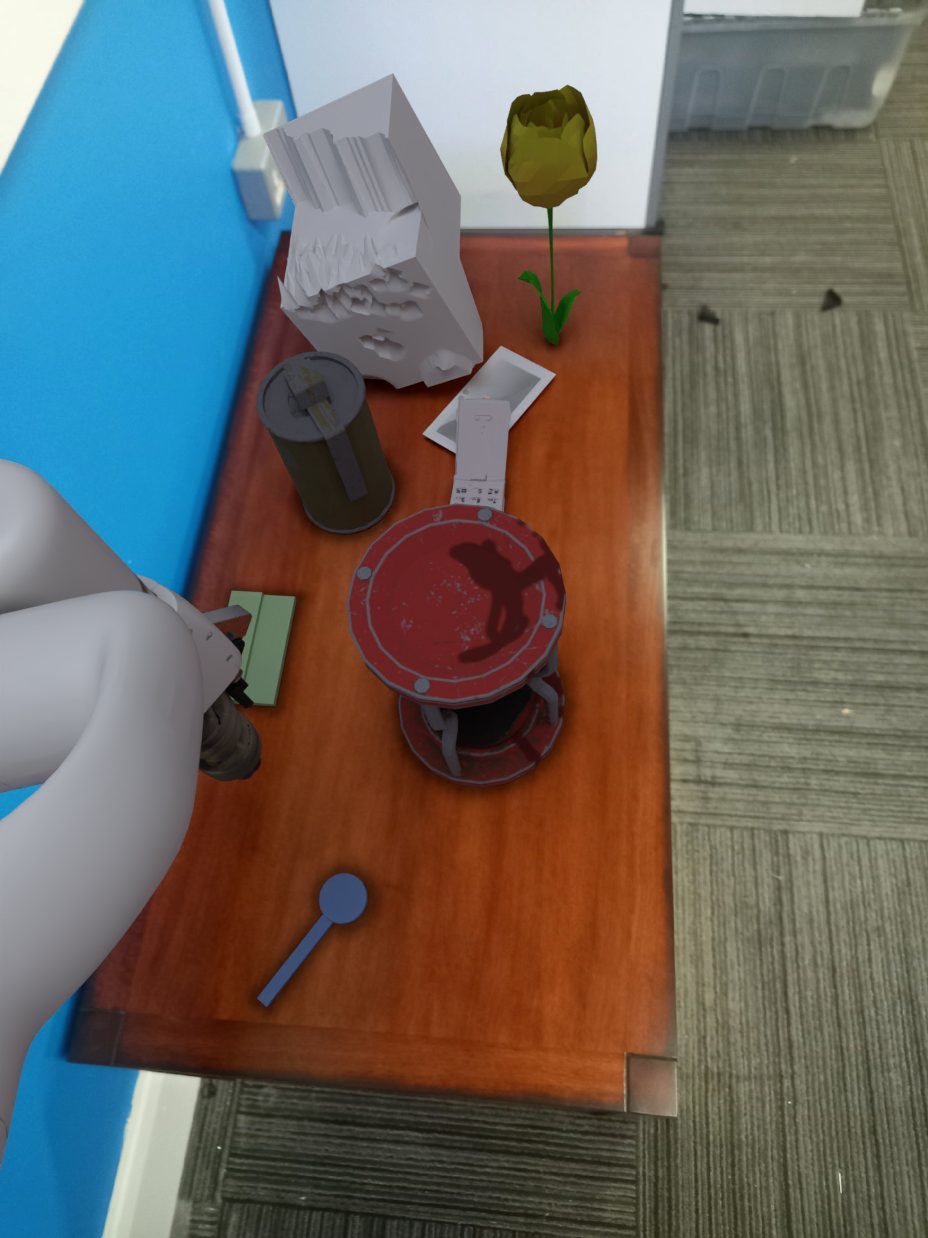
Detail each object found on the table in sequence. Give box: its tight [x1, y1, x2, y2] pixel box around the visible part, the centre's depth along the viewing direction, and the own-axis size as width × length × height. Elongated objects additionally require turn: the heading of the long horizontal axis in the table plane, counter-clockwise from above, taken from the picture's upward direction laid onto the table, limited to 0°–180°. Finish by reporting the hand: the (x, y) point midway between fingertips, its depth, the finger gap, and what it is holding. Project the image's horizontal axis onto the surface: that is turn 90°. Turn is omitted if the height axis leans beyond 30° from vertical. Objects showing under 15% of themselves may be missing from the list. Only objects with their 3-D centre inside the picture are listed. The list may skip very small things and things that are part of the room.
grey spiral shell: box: [198, 690, 263, 782], centre depth 68 cm, size 6×6×15 cm
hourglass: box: [346, 503, 567, 789], centre depth 76 cm, size 16×16×25 cm
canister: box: [255, 350, 396, 535], centre depth 90 cm, size 11×10×20 cm
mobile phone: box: [449, 399, 511, 512], centre depth 93 cm, size 6×6×25 cm
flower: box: [499, 84, 598, 346], centre depth 92 cm, size 9×8×30 cm
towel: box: [227, 590, 298, 707], centre depth 92 cm, size 12×7×1 cm, turn 174°
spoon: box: [256, 872, 369, 1008], centre depth 80 cm, size 13×4×1 cm, turn 142°
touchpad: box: [422, 345, 557, 454], centre depth 101 cm, size 8×15×2 cm, turn 143°
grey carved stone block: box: [262, 73, 484, 390], centre depth 97 cm, size 20×16×25 cm
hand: (207, 727), depth 66 cm, fingers closed on grey spiral shell, 5 cm apart
